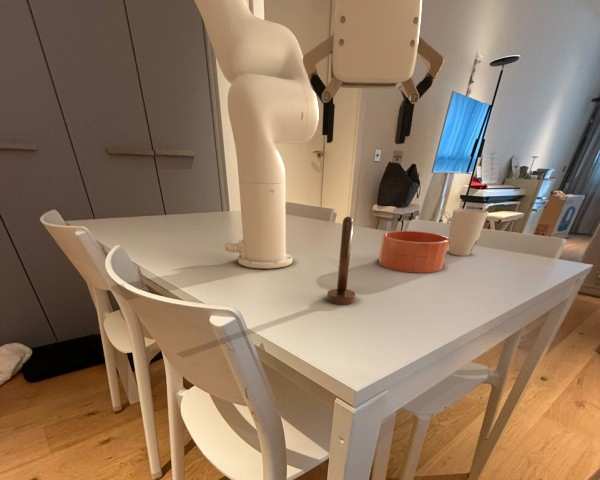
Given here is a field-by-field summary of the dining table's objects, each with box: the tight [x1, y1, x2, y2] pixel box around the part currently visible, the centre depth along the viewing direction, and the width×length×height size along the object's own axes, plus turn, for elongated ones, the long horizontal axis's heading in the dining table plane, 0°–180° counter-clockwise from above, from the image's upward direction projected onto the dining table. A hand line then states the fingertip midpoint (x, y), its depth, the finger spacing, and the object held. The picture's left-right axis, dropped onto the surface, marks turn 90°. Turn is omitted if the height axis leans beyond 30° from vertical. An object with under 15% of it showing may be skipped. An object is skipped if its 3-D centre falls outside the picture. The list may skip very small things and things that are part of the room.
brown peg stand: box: [326, 216, 356, 306], centre depth 54 cm, size 5×5×13 cm
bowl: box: [378, 230, 449, 274], centre depth 77 cm, size 14×14×6 cm
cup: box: [448, 208, 489, 257], centre depth 86 cm, size 8×8×10 cm
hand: (364, 143), depth 46 cm, fingers open, 9 cm apart
